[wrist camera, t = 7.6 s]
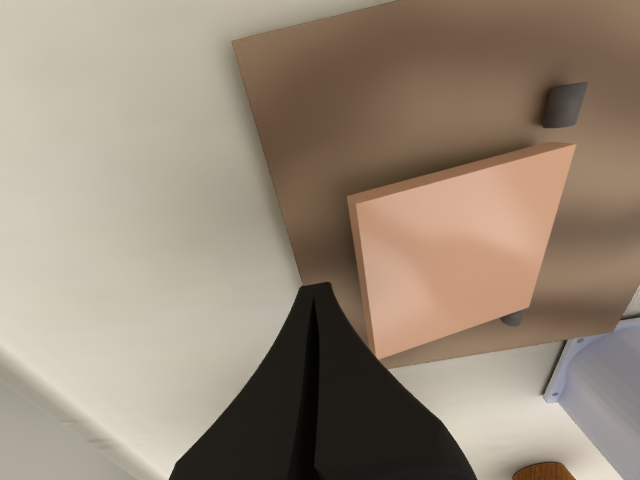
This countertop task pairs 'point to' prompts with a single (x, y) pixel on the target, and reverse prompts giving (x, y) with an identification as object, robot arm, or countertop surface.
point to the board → (460, 140)
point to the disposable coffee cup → (544, 472)
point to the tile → (455, 244)
